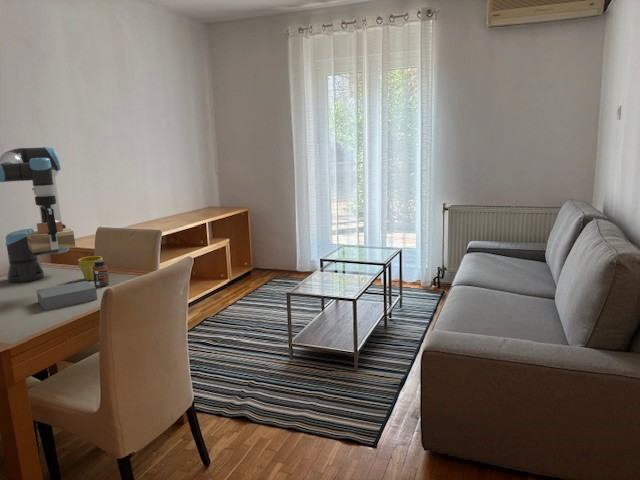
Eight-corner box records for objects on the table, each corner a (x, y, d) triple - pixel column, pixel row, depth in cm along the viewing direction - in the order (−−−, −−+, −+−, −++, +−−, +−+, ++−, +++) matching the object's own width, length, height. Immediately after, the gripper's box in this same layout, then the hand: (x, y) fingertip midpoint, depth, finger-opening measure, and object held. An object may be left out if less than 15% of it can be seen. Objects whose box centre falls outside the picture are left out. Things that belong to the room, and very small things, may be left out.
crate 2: (50, 231, 203) (49, 222, 202) (61, 230, 205) (59, 220, 204) (52, 232, 200) (51, 223, 199) (63, 231, 202) (61, 221, 201)
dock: (38, 301, 192) (36, 290, 191) (88, 291, 204) (87, 280, 203) (44, 310, 181) (42, 298, 180) (97, 299, 193) (95, 287, 192)
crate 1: (37, 232, 200) (36, 223, 199) (48, 231, 202) (47, 222, 202) (39, 234, 197) (38, 224, 196) (50, 232, 199) (48, 223, 198)
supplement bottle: (99, 288, 208) (96, 263, 206) (91, 286, 211) (88, 261, 209) (112, 284, 213) (109, 260, 211) (104, 283, 216) (101, 259, 214)
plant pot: (95, 282, 219) (92, 261, 217) (75, 281, 221) (72, 261, 219) (109, 275, 229) (106, 256, 227) (90, 275, 231) (87, 255, 229)
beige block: (28, 249, 201) (26, 233, 200) (70, 243, 211) (68, 228, 210) (32, 253, 194) (30, 236, 192) (75, 247, 203) (73, 231, 202)
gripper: (30, 194, 204) (37, 244, 209) (39, 198, 187) (47, 252, 191) (49, 192, 209) (56, 242, 213) (60, 196, 191) (67, 249, 196)
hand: (52, 247), depth 202 cm, fingers closed on beige block, 10 cm apart
